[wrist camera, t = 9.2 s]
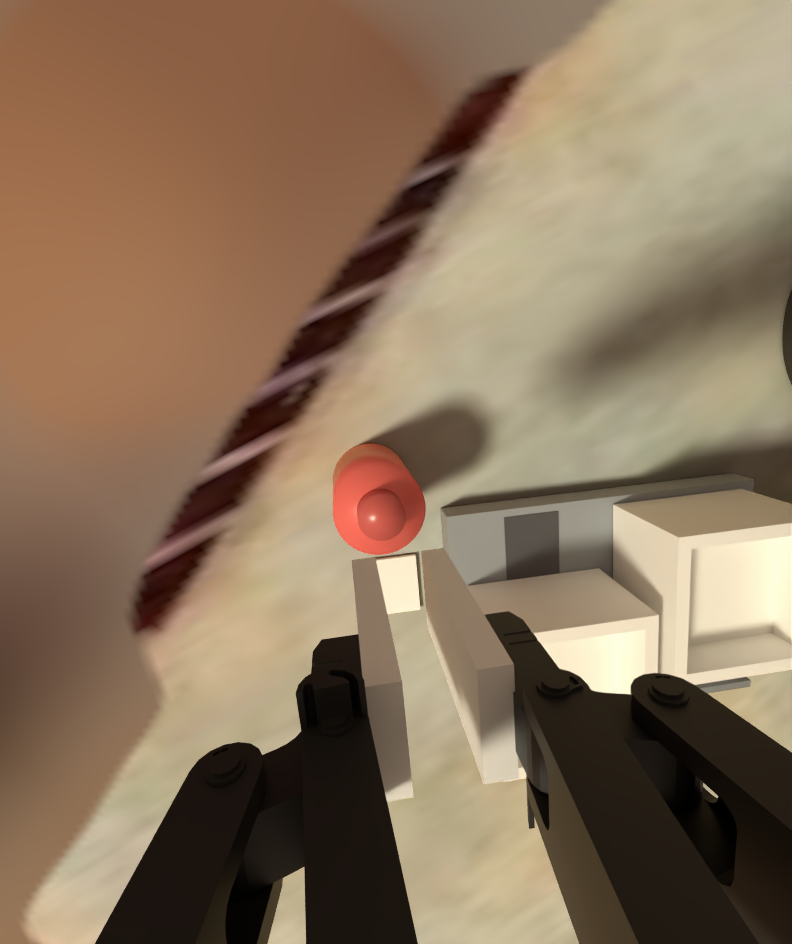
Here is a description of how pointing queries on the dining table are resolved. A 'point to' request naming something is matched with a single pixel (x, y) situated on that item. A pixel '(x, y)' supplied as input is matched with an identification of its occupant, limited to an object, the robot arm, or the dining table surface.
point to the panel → (540, 539)
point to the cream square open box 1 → (581, 625)
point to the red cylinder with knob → (376, 500)
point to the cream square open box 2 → (711, 580)
